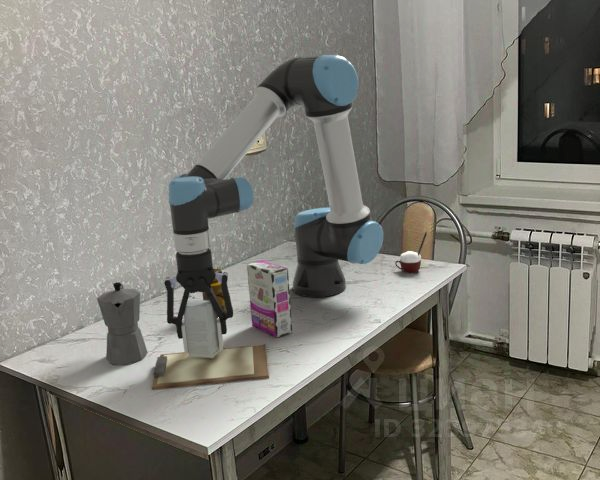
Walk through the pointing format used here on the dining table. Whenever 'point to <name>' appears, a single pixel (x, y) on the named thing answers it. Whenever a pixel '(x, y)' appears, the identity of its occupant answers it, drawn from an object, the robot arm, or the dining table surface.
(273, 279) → the candy bar box
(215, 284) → the condiment
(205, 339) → the skincare box
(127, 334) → the coffeepot
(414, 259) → the cocoa
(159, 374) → the clipboard
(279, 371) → the dining table surface
